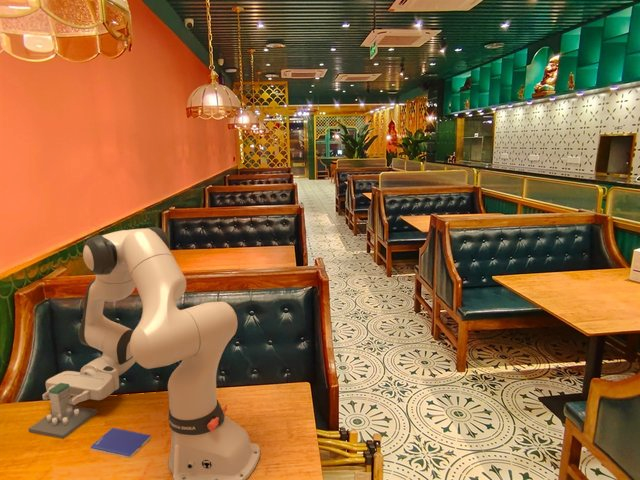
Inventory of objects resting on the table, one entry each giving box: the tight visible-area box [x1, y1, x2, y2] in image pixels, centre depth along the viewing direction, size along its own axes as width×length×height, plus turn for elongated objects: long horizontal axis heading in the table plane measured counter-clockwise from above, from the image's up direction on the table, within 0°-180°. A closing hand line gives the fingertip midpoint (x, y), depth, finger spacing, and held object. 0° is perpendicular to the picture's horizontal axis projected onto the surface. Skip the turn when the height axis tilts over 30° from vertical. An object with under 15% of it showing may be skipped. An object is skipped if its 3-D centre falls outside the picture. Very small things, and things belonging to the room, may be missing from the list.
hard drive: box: [89, 427, 152, 459], centre depth 113 cm, size 2×8×12 cm
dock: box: [28, 405, 98, 440], centre depth 122 cm, size 12×12×3 cm
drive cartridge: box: [49, 383, 74, 424], centre depth 121 cm, size 3×4×10 cm
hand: (57, 400), depth 120 cm, fingers open, 8 cm apart
